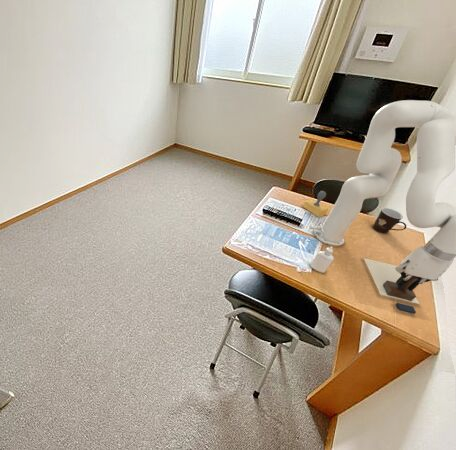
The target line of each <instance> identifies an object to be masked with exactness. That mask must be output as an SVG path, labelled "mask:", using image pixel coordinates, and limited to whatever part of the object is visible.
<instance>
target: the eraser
mask: <svg viewBox="0 0 456 450" xmlns="http://www.w3.org/2000/svg"><path fill="white" fill-rule="evenodd" d="M395 306H396V308H397V311H400V312H404V313H408V314H413V315H415V314H416V313H417V311H416V309H415V307H414V306H412V305H408V304H404V303H401V302H396V303H395Z"/></svg>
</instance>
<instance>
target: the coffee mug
mask: <svg viewBox="0 0 456 450" xmlns="http://www.w3.org/2000/svg"><path fill="white" fill-rule="evenodd" d="M403 218H404V216H403V214H402V213H400V212H399V211H397V210H395V209H393V208H389V207H382V208H381V210H380V212H379V214H378V216H377V218H376V219H375V221H374V223H373V225H372V229H373V230H374V231H375V232H378V233H381V234H384V235H385V234H388V233H389V231H403V230H406V229H407V224H406V223H405V222H403V221H401V220H402V219H403ZM397 224H403V226H404V228H394V227H395V226H396V225H397Z"/></svg>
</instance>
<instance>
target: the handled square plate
mask: <svg viewBox="0 0 456 450" xmlns="http://www.w3.org/2000/svg"><path fill="white" fill-rule="evenodd" d="M418 278H419V277H417V276H412V277H411V278H409V279H408V280H407V281H408V283H407V284H406V285H405V286H403V287H402V288H399V287H398V286H397V284H396V282H392V281H388V280H387V281H386V282H385V283H384V284H383V286H384V289H385V291H386V293H387V295H390V296H394V297H397V298H401V299H405V300H409V301H412V300H413V299H414V298H415V297H416V298H417V295H416V294H415V292H414V289H413V290H412V291H409V289H408V288H409V287H410V286H411V285H412V284H413V283H414V282H415V281H416V280H417V279H418ZM397 298H396V299H397ZM401 299H400V300H401ZM405 300H404V301H405ZM409 301H408V302H409Z"/></svg>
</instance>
